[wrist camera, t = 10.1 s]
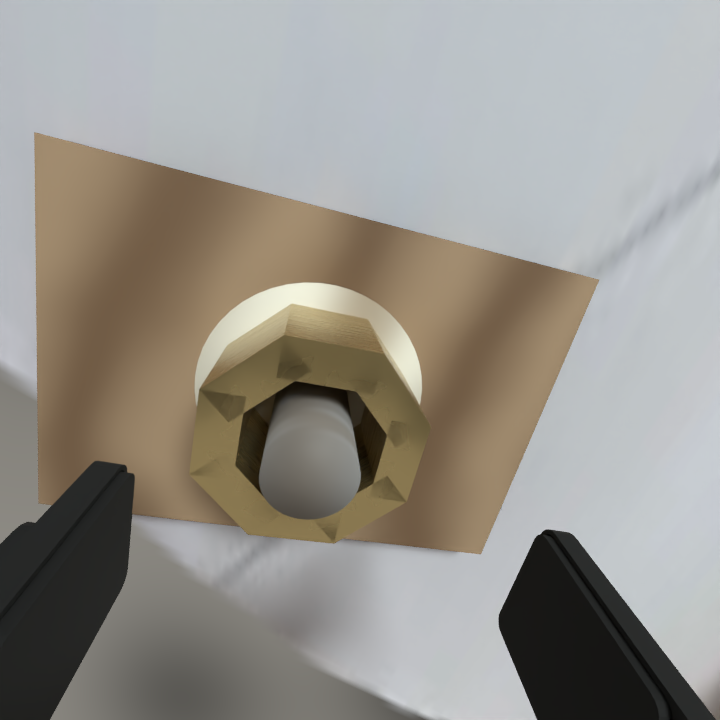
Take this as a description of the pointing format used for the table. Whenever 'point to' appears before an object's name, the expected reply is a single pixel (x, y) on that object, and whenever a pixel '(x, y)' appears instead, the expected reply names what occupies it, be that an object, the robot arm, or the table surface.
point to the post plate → (252, 307)
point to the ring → (315, 366)
